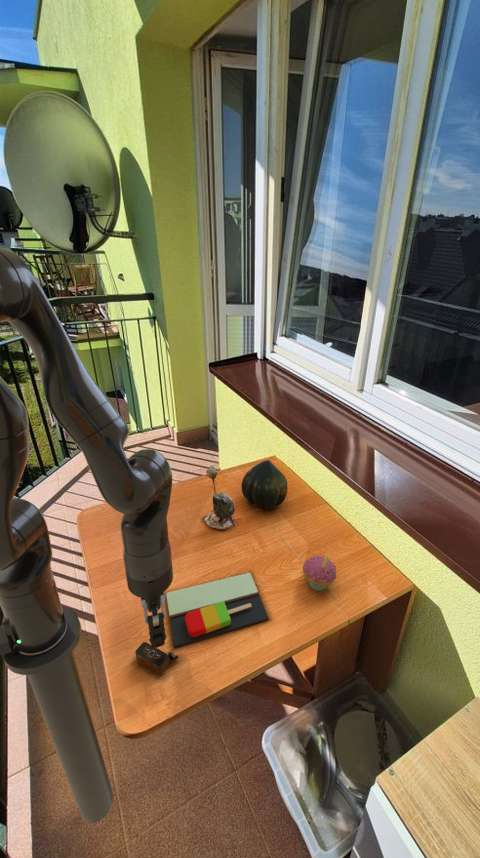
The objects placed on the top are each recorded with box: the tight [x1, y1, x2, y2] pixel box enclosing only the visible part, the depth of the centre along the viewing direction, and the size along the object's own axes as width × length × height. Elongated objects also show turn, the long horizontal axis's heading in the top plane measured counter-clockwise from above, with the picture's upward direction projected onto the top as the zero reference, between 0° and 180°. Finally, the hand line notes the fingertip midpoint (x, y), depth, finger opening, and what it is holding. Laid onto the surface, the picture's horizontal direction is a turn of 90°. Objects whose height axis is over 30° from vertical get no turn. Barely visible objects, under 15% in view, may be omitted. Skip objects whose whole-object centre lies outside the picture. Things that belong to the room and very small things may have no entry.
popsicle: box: [185, 601, 252, 637], centre depth 85 cm, size 6×15×2 cm, turn 115°
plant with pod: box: [202, 465, 237, 531], centre depth 109 cm, size 8×11×20 cm
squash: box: [240, 459, 288, 511], centre depth 123 cm, size 14×15×15 cm
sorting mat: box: [165, 572, 270, 649], centre depth 88 cm, size 21×14×1 cm, turn 112°
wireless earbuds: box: [134, 641, 180, 676], centre depth 75 cm, size 5×7×3 cm, turn 65°
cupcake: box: [302, 553, 337, 591], centre depth 94 cm, size 9×8×12 cm
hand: (155, 624), depth 71 cm, fingers open, 8 cm apart
